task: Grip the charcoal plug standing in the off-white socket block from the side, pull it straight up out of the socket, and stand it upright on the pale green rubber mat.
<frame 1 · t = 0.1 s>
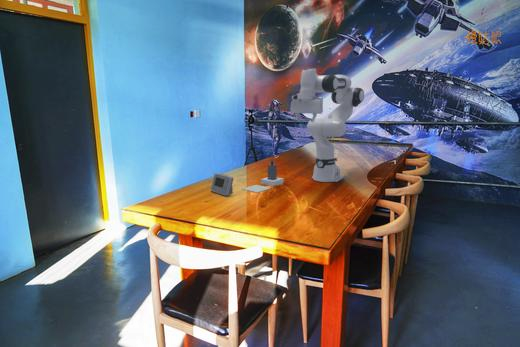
hand: (305, 121, 203), 39 cm above the table, tool pointing down, fingers open, 8 cm apart
digital clock: (222, 193, 199), on the table
socket block: (272, 183, 220), on the table
plug: (272, 171, 218), in the socket block
mat: (256, 189, 207), on the table
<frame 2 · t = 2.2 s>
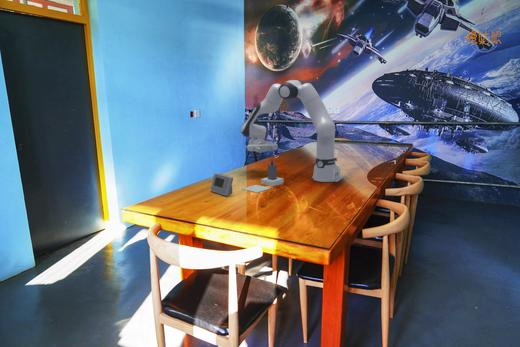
hand: (266, 149, 227), 20 cm above the table, tool horizontal, fingers open, 8 cm apart
nothing on the table moved.
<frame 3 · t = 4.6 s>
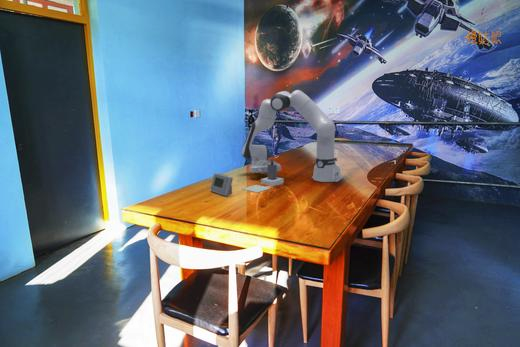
hand: (269, 170, 224), 7 cm above the table, tool horizontal, fingers open, 8 cm apart
nothing on the table moved.
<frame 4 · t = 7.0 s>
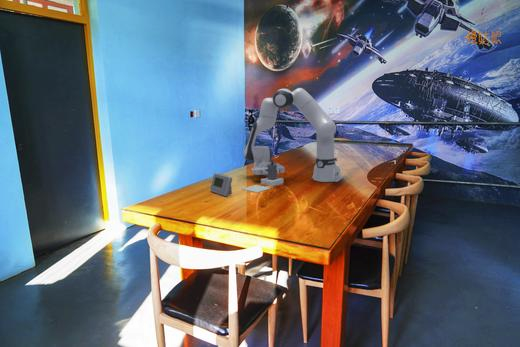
hand: (272, 172, 217), 7 cm above the table, tool horizontal, fingers closed on plug, 5 cm apart
plug: (272, 171, 218), in the socket block, touching gripper
everything else where it was.
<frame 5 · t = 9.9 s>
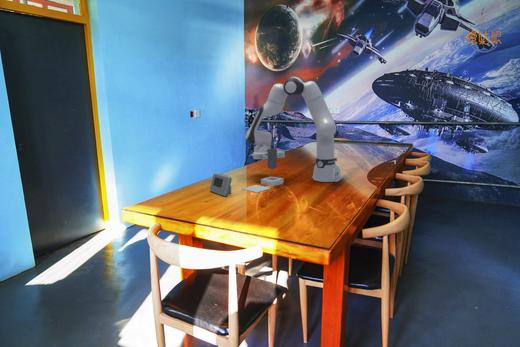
hand: (272, 157, 215), 17 cm above the table, tool horizontal, fingers closed on plug, 5 cm apart
plug: (272, 156, 216), point 17 cm above the table, touching gripper
everything else where it was.
when the fingers open (9 cm above the table, at t = 13.3 s): plug drops 2 cm, resting on mat.
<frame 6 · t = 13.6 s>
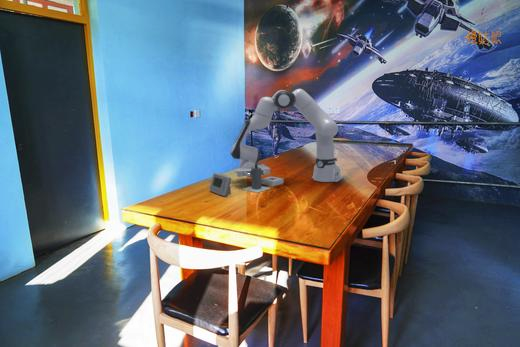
hand: (256, 174, 205), 9 cm above the table, tool horizontal, fingers open, 8 cm apart
plug: (256, 175, 206), on the mat
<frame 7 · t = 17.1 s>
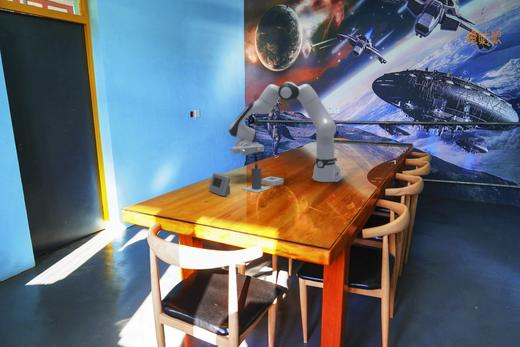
hand: (250, 151, 214), 21 cm above the table, tool horizontal, fingers open, 8 cm apart
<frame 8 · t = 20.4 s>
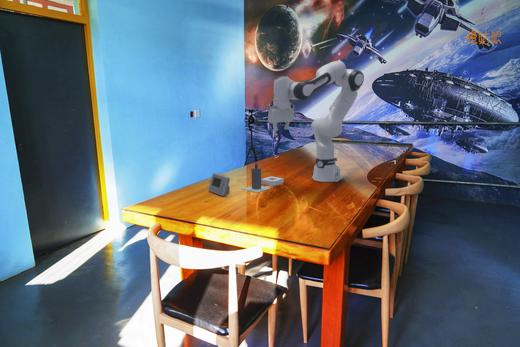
hand: (281, 130, 203), 34 cm above the table, tool pointing down, fingers open, 8 cm apart
at the end: plug inside the target area on the mat (0.1 cm from its centre), point 7.9 cm above the mat's base; plug tilted 0°; the gripper is holding nothing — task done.
